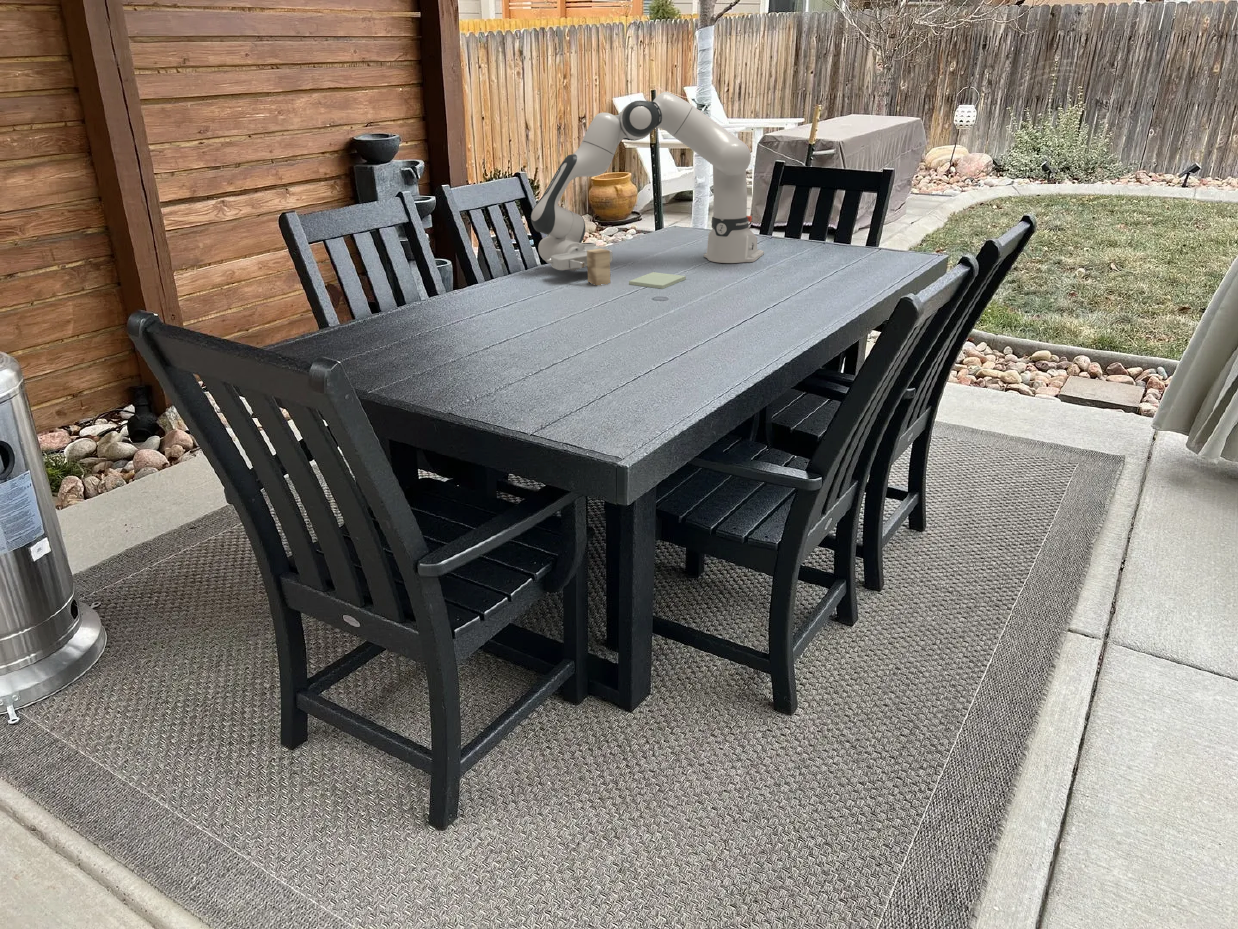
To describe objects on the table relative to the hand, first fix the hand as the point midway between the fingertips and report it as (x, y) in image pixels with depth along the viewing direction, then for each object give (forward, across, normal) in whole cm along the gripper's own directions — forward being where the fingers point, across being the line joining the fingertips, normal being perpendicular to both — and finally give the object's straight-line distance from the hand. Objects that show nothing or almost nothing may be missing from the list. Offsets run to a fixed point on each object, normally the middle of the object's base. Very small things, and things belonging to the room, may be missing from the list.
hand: (595, 262), depth 283 cm
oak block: (+2, 0, +6) cm, 6 cm away
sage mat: (+12, +15, +6) cm, 20 cm away
